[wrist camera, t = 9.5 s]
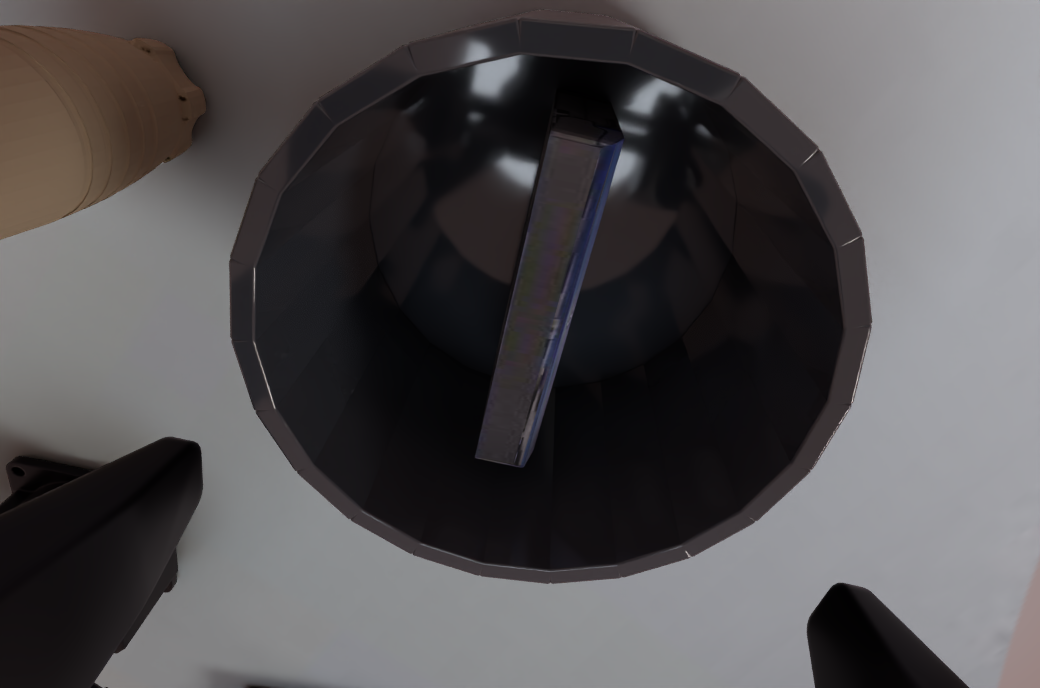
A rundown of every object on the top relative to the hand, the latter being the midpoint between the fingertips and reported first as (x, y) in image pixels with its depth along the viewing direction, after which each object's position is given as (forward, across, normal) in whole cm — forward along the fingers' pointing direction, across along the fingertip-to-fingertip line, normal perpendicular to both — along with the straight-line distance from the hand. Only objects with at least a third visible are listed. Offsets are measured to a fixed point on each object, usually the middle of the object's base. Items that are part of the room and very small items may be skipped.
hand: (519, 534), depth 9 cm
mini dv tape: (+12, 0, 0) cm, 12 cm away
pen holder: (+12, 0, 0) cm, 12 cm away
